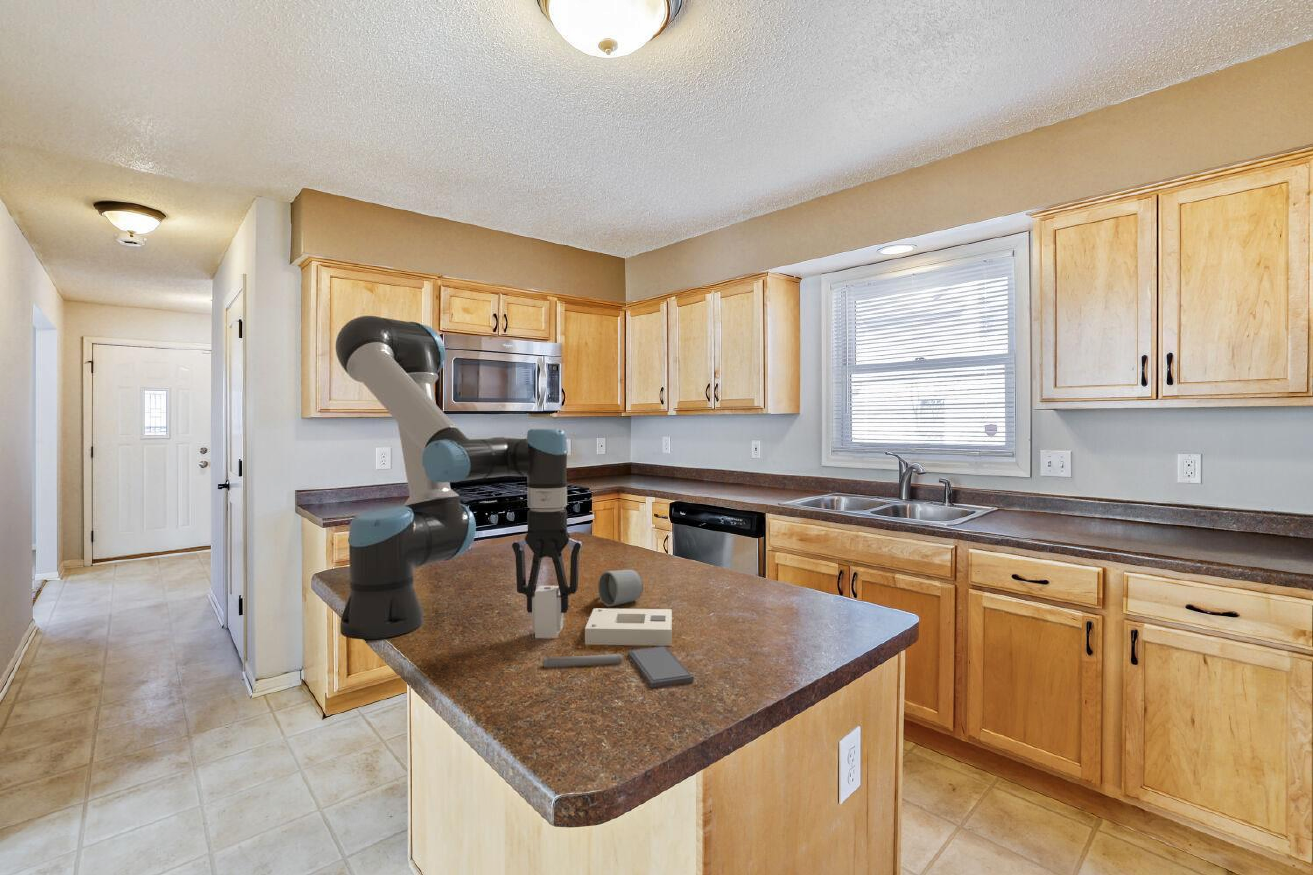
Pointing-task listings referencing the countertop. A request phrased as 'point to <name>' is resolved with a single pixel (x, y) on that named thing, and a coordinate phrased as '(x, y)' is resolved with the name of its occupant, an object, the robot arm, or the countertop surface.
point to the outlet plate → (629, 627)
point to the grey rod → (582, 660)
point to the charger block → (546, 611)
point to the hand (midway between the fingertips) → (547, 628)
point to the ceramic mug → (620, 587)
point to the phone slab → (660, 666)
